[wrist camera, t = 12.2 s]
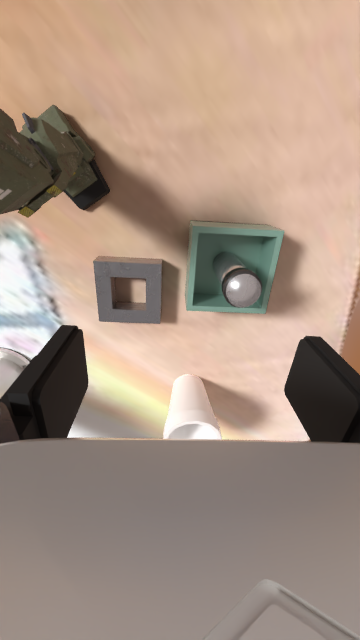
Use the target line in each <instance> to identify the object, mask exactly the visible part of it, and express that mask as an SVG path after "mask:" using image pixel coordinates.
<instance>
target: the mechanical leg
mask: <svg viewBox="0 0 360 640" xmlns="http://www.w3.org/2000/svg"><path fill="white" fill-rule="evenodd" d="M22 116H23V118H24V120H25V124H24V125H23V126H22V128H23V130H22V131H21V132H20V133H19V132H17V129H16V127H15V124H14V121H13V119H12V118H10V117H9V116H8V115H7V114H6V113H5V112H4V111H3V110H1V109H0V214H3V213H7V212H11V211H15V210H19V211H18V213H20V214H22V215H24V216H26V217H29V216H31V215H32V214H33V213H35V212H36V211H37V210H38V209H39V208H40V207H41V206H42V205H43V204H44V203H46V202H47V201H48V200H50V199H51V198H52V197H56V196H58V195H59V194H60V193H62V192H63V191H64V192H65V193H66V194H67V195H68V196H69V198H70V199H71V200H72V201H73V202H74V203H75V204H76V205H77V206H78V207H79V208H80V209H82V210H85V209H87V208H88V207H90V206H91V205H93V204H94V203H95V202H97V201H98V200H100V199H101V198H102V197H104V196H105V195H107V194H108V193H109V192H110V189H109V187H108V185H107V183H106V181H105V180H104V178H103V176H102V174H101V172H100V170H99V168H98V166H97V164H96V162H95V160H94V159H93V158H94V156H95V153H94V152H93V150H92V149H91V147H90V146H89V145H88V144H87V143H86V142H85V141H84V140H83V138H82V137H80V136H79V135H78V134H77V133H76V132H75V131H74V130H73V128H72V126H71V125H70V123H69V122H68V120H67V119H66V117H65V116H64V114H63V112H62V111H61V110H60V109H59V108H58V107H56V106H55V105H52V106H51V107H50V108H48V109H47V110H46V111H45V112H44V113H43V114H41V115H40V116H39V117H38V118H30V117H29V116H28V115H26V114H25V113H23V114H22ZM92 159H93V160H92ZM91 160H92V161H91Z"/></svg>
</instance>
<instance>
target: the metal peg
mask: <svg viewBox="0 0 360 640" xmlns="http://www.w3.org/2000/svg"><path fill="white" fill-rule="evenodd" d="M213 269H214V271H215V273H216V275H217V277H218V280H219V282H220V284H221V290H222V293H223V295H224V297H225V299H226V301H227V302H228V303H229V304H230V305H232V306H234V307H238V308H243V307H248V306H251V305H252V304H254V303H255V302H256V301H257V300H258V298H259V297H260V295H261V292H262V282H261V280H260V278H259V277H258V276H257V275H256V274H255V273H254V272H253V271H252V270H250V269H248V268H246V267H245V266H244V265H243V263H242V262H241V261H240V260H239V259H238V258H237V257H236V256H235V255H234V254H233V253H231V252H222V253H220V254H218V255H217V256H216V257H215V259H214V261H213Z"/></svg>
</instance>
